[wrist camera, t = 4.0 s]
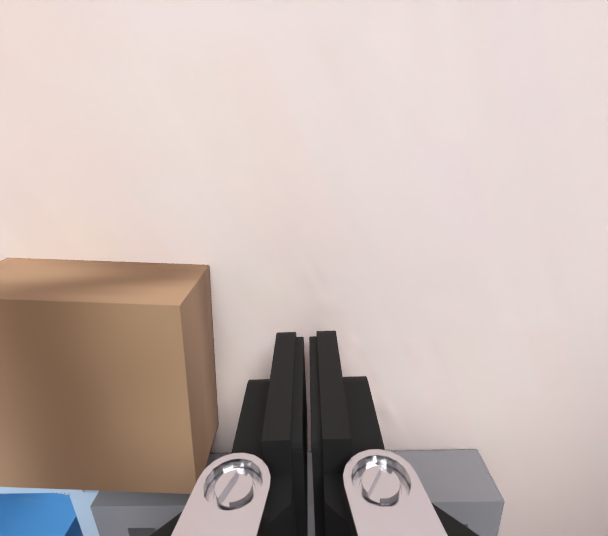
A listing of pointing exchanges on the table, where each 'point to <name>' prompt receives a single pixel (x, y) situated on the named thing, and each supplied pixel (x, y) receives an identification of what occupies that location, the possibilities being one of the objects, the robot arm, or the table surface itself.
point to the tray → (427, 464)
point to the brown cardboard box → (105, 375)
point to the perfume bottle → (38, 515)
